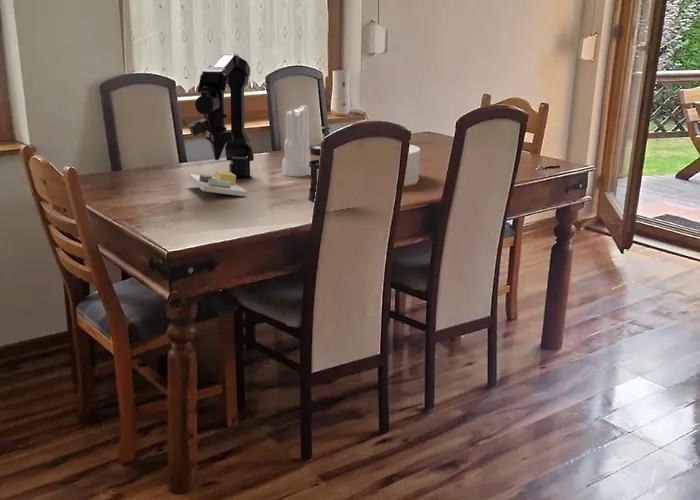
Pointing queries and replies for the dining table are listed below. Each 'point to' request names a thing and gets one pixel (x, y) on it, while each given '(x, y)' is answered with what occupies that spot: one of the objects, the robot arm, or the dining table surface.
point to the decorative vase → (297, 143)
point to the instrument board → (216, 188)
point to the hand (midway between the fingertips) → (216, 159)
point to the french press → (315, 166)
